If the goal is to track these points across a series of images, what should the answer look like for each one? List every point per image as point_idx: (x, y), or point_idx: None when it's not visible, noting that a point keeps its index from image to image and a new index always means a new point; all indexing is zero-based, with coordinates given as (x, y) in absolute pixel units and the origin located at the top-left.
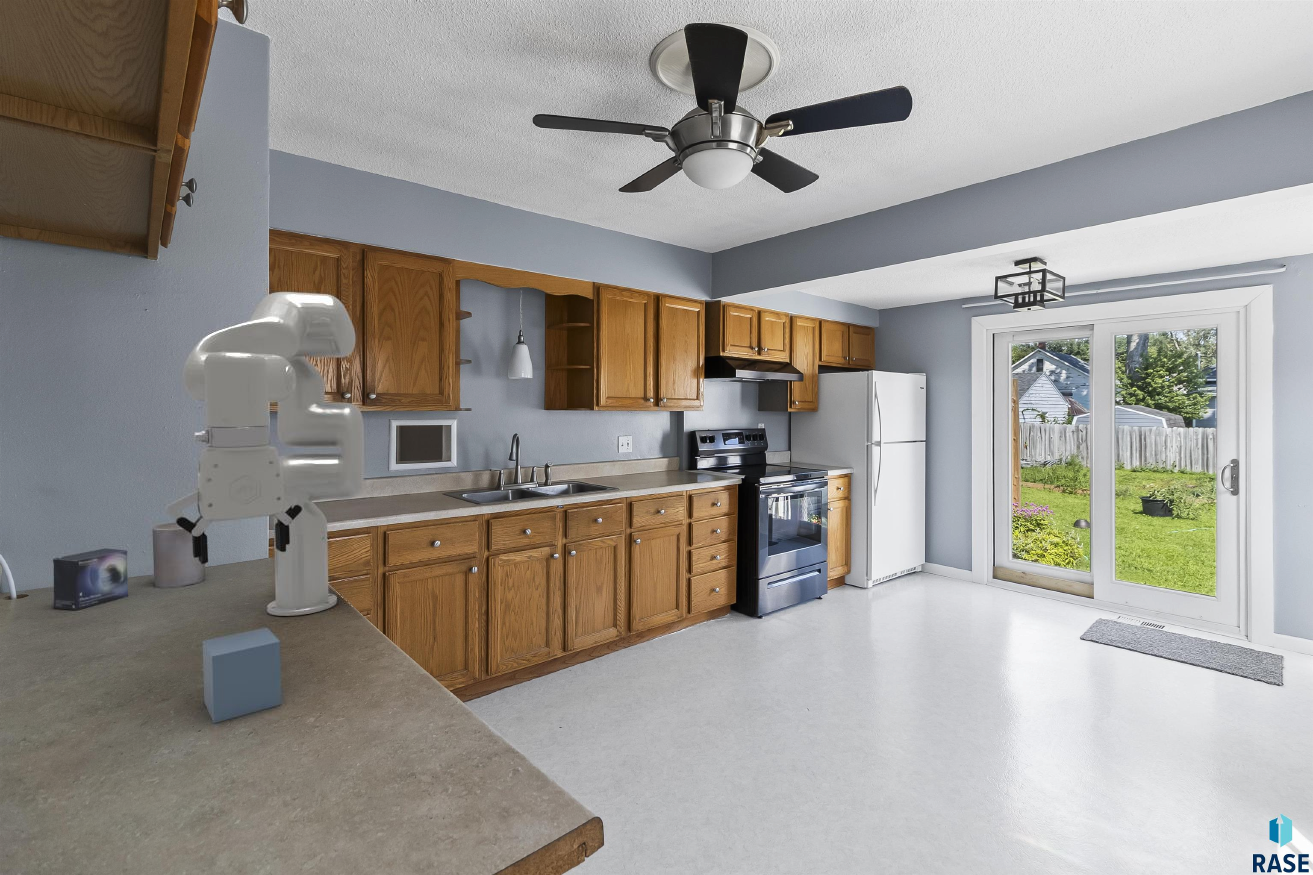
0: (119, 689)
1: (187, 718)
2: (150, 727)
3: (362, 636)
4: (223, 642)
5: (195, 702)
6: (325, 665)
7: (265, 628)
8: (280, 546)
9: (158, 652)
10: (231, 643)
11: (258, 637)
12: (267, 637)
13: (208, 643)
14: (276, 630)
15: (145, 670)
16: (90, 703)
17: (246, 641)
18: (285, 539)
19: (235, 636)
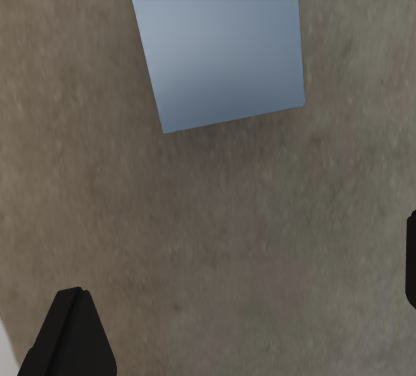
0: (368, 220)
1: None
2: (340, 21)
3: (2, 282)
4: (263, 56)
5: None
6: (65, 161)
7: (166, 127)
8: (81, 307)
9: (317, 344)
10: (245, 35)
11: (182, 51)
12: (159, 36)
13: (294, 71)
14: (157, 369)
15: (335, 280)
16: (403, 183)
17: (211, 29)
18: (38, 336)
19: (235, 95)
